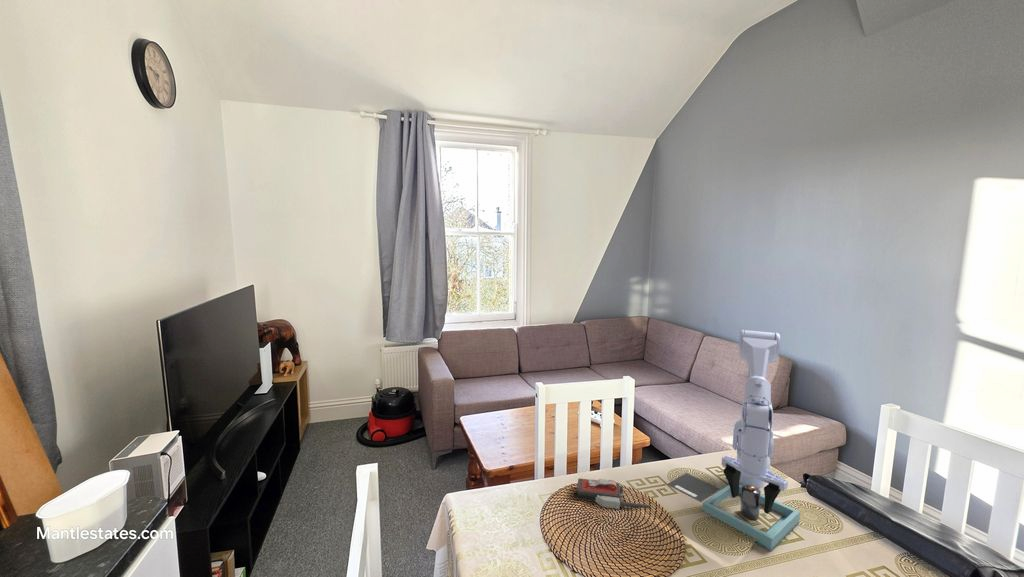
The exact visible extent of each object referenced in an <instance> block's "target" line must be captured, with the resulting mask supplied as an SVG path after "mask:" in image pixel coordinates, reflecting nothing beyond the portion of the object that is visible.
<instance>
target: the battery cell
mask: <svg viewBox="0 0 1024 577" xmlns="http://www.w3.org/2000/svg"><path fill="white" fill-rule="evenodd" d="M761 492H762V491H761V490H760V488H756V487H755V486H753V485H742V495H741V499H740V514H741V516H743V517H744V518H746V519H747V520H750V521H757V520H759V519H760V509H761V507H760V506H761V504H760V494H762V493H761Z"/></svg>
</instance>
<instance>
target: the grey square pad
mask: <svg viewBox="0 0 1024 577" xmlns="http://www.w3.org/2000/svg"><path fill="white" fill-rule="evenodd" d="M666 485H667V486H669V487H671V488H673V489H675V490H677V491H678V492H681V493H683V494H685V495H686V496H689V497H691V498H692V499H694V500H696V501H698V502H700V503H703V502H704V500H705V501H706V500H707V499H709V498H710V497H712V496H713V495H715V494H716V493H717V492H719V491H720V488H719V487H717V486H715V485H713V484H710V482H707V481H705V480H704V479H703V480H702V479H700V478H699V477H696V476H694V475H692V474H690V473H687V472H685V473H683V474H682V475H680V476H679V477H676V478H675V479H674V480H672V481H670V482H668V483H667V484H666Z"/></svg>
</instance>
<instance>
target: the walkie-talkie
mask: <svg viewBox="0 0 1024 577" xmlns="http://www.w3.org/2000/svg"><path fill="white" fill-rule="evenodd" d="M623 489H624V487H623V486H621V484H620V483H619V482H617V481H615V480H612V479H603V478H599V479H597V480H595V479H591V478H578V479H577V490H576V491H573V493H572V497H573V498H576V499H578V500H580V501H589V502H595V503H596V504H598V505H599V506H601V507H603V508H608V509H609V508H611V509H616V510H620V507H621V508H625V507H626V508H633V509H634V508H635V509H640V508H643V509H652V506H651V505H650V504H642V503H634V502H627V501H623V500H624V499H622V498H623V497H624V496H623Z"/></svg>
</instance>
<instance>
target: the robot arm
mask: <svg viewBox="0 0 1024 577" xmlns="http://www.w3.org/2000/svg"><path fill="white" fill-rule="evenodd" d="M738 338H739V339H738V340H739V342H738V354H739V358H740V359H743V361H745V362H746V364H747V367H748V371H747V379H746V380H745V382H744V393H743V394H744V398H743V404H741V405H742V406H741V417H740V419H739V420H737V421H735V423H734V426H733V427H734V428H733V433H732V434H733V435H732V449H733V450H734V451H736V458H734V457H730V456H728V455H724V456H723V457H722V458H721V466H723V467H725V468H724V469H723V474H724V476H725V478H726V480H727V482H728V485H729V486H730V490H731V495H730V496H731V498H733V499H735V498H737V497H738V496H739V495H740V494H739V485H742V486H744V485H753V486H755V487H756V488H758V489H760V488H763V491H764V496H765V505H763V512H764V514H767V515H769V513H771V511H772V509H771V508H772V505H773V503H774V501H776V498H777V497H778V495H779V494H780V493H781V491H782V492H785V491H787V489H788V486H789V485H788V483H789V482H788V481H789V480H786V479H785V478H782V477H781V476H779V475H777V474H775V473H773V472H772V471H771V459H770V458H772V457H773V454H774V431H773V425H774V424H773V423H774V409H773V403H772V398H771V396H772V394H771V393H772V385H771V383H770V381H769V380H767V378H766V377H767V370H768V365H769V364H771V363H775V362H776V361H777V359H778V357H779V354H780V350H781V349H780V348H781V346H780V345H781V334H779V333H778V332H770V331H768V332H767V331H758V330H746V329H741V330H740V331H739V337H738ZM766 483H767V484H766Z"/></svg>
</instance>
